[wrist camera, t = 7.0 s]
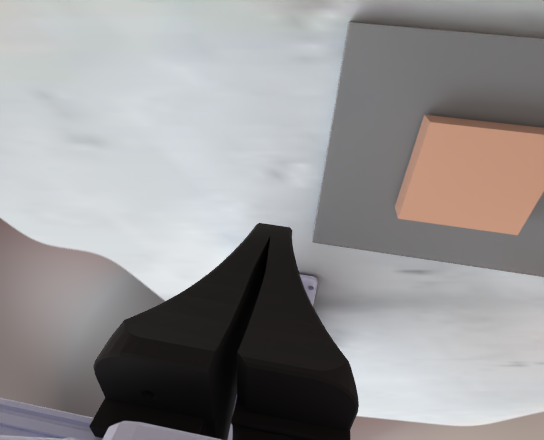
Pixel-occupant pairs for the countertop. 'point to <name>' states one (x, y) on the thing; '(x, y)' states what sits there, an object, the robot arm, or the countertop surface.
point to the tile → (473, 174)
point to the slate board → (404, 130)
